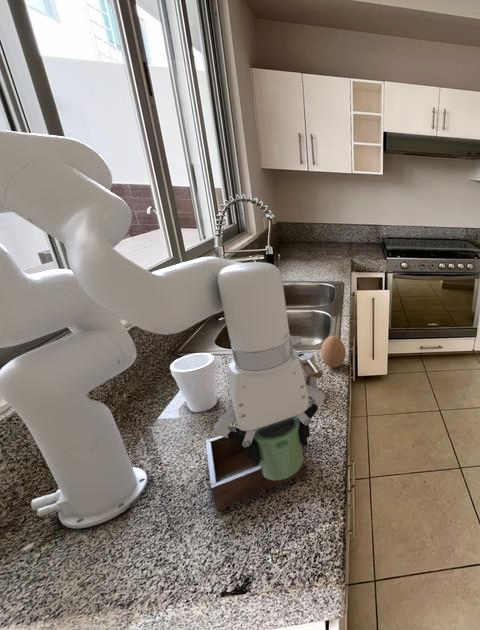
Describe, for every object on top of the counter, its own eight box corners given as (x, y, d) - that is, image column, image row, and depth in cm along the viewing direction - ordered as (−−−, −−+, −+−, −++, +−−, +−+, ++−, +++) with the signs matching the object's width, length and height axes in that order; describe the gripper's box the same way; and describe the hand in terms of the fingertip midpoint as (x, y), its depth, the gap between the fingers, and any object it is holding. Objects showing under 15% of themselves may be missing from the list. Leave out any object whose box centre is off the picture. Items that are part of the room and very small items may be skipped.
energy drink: (310, 385, 101) (306, 349, 96) (321, 392, 98) (317, 355, 93) (294, 393, 97) (289, 355, 92) (304, 400, 94) (300, 362, 89)
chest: (218, 514, 62) (210, 488, 60) (211, 464, 73) (205, 440, 70) (305, 476, 70) (302, 452, 68) (288, 436, 81) (285, 414, 79)
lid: (306, 376, 63) (330, 373, 66) (287, 346, 74) (309, 344, 76) (300, 451, 68) (322, 445, 70) (282, 413, 78) (303, 409, 81)
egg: (350, 362, 113) (348, 333, 109) (340, 374, 107) (338, 343, 102) (329, 359, 115) (326, 330, 111) (317, 371, 108) (314, 340, 104)
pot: (265, 493, 51) (257, 451, 48) (255, 456, 58) (247, 417, 55) (311, 473, 55) (306, 433, 52) (296, 440, 61) (291, 403, 58)
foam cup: (185, 420, 85) (173, 376, 80) (179, 403, 91) (167, 360, 87) (227, 405, 91) (218, 363, 86) (219, 390, 97) (209, 349, 92)
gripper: (315, 328, 56) (325, 418, 62) (189, 356, 47) (216, 457, 53) (332, 347, 50) (340, 443, 57) (191, 382, 41) (221, 491, 48)
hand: (280, 449), depth 55 cm, fingers closed on pot, 6 cm apart
